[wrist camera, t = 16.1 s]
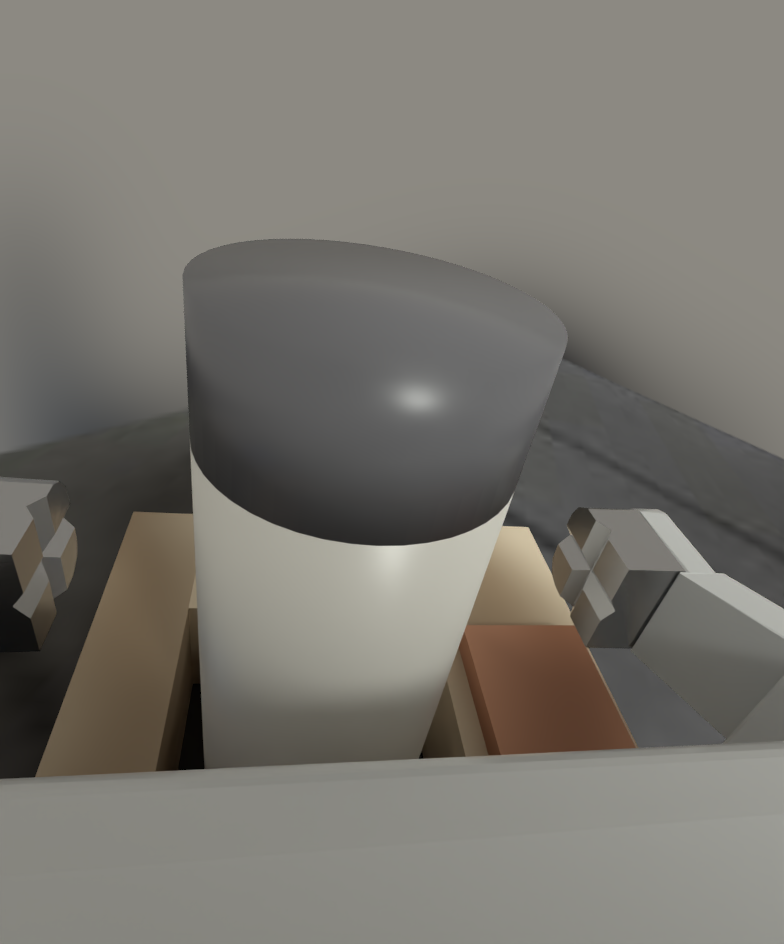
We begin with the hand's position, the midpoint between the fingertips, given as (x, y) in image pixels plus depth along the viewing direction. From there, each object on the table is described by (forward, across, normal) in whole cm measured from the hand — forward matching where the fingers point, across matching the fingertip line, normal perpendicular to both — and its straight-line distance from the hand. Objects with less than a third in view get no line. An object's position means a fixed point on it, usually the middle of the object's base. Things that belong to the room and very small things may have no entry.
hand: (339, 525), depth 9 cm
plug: (0, 0, +8) cm, 8 cm away
